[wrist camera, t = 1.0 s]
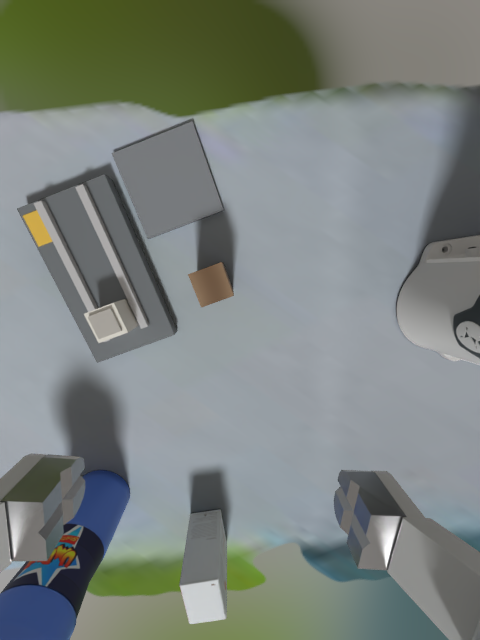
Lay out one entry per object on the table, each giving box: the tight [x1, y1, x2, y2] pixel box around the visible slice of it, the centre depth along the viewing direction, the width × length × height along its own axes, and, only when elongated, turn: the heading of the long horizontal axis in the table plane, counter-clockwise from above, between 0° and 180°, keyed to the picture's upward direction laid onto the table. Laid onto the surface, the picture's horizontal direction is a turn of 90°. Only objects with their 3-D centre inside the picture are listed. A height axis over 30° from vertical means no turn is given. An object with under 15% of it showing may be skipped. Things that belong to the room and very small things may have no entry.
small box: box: [180, 509, 227, 624], centre depth 41 cm, size 8×6×10 cm
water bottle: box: [0, 470, 130, 640], centre depth 32 cm, size 9×9×25 cm
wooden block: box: [188, 262, 234, 307], centre depth 33 cm, size 4×4×8 cm
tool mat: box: [112, 121, 224, 239], centre depth 34 cm, size 11×11×1 cm
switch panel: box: [17, 174, 177, 363], centre depth 35 cm, size 12×22×3 cm, turn 20°
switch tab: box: [84, 299, 139, 343], centre depth 33 cm, size 4×4×4 cm
